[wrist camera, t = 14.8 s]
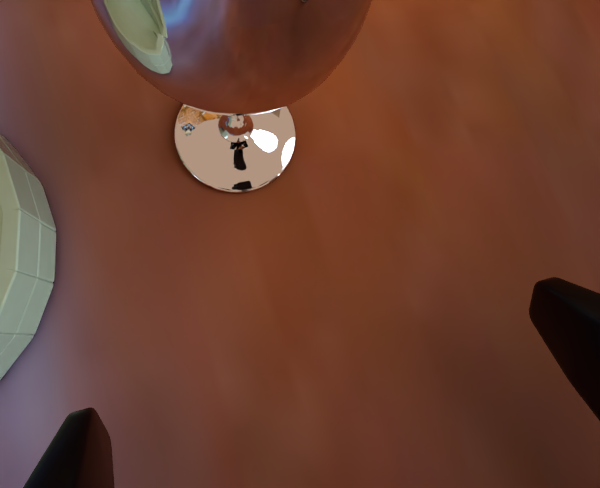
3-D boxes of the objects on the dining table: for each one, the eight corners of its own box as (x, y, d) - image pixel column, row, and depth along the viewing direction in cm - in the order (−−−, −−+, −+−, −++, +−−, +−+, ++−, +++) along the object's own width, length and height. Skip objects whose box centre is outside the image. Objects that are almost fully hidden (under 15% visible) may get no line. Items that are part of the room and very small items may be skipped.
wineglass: (341, 115, 19) (501, -244, 7) (261, 240, 18) (304, 46, 6) (211, 35, 19) (167, -449, 7) (123, 155, 18) (-100, -200, 6)
